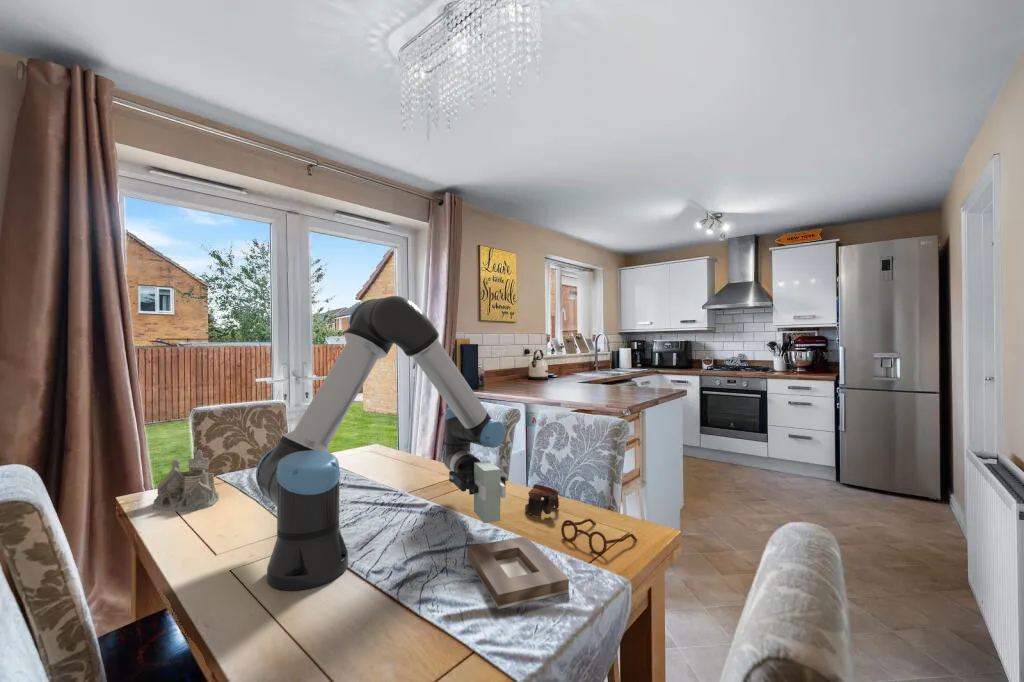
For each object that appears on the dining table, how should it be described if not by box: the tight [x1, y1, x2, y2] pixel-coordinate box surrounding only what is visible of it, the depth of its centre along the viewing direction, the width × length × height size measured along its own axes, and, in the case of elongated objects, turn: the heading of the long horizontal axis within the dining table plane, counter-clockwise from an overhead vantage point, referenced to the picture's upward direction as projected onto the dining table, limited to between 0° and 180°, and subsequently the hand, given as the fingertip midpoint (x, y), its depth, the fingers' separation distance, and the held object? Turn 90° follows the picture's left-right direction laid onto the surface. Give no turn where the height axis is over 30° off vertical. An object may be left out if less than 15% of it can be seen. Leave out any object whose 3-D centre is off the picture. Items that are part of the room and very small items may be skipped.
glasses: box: [561, 518, 638, 556], centre depth 106 cm, size 13×13×5 cm
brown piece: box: [524, 484, 560, 518], centre depth 123 cm, size 12×10×8 cm
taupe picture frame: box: [466, 535, 570, 610], centre depth 90 cm, size 14×20×2 cm
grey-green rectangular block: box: [473, 460, 502, 524], centre depth 107 cm, size 4×8×12 cm, turn 22°
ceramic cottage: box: [152, 449, 220, 513], centre depth 130 cm, size 16×16×15 cm
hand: (494, 493), depth 102 cm, fingers closed on grey-green rectangular block, 4 cm apart
